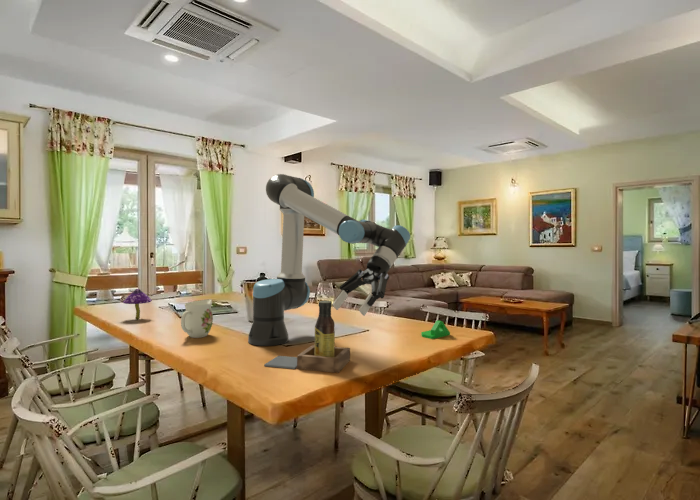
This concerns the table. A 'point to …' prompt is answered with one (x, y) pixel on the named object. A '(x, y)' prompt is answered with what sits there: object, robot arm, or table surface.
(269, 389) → the table surface
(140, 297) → the decorative mushroom
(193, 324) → the pitcher
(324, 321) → the sauce bottle
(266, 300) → the robot arm
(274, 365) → the slate coaster
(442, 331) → the bracket
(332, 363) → the walnut collar
